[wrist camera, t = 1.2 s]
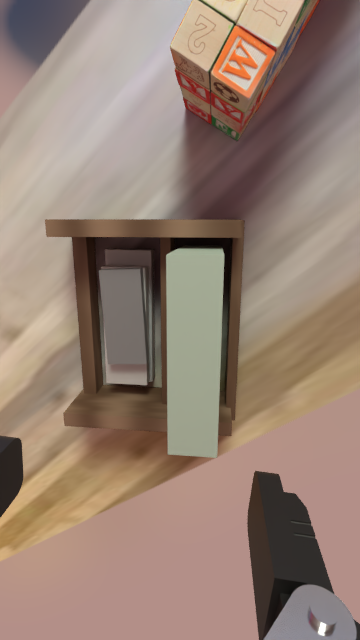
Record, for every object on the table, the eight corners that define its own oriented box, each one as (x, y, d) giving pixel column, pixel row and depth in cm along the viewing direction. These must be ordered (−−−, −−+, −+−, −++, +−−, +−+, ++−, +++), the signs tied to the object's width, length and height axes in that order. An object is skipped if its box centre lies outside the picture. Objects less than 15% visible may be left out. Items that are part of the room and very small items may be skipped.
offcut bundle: (154, 249, 38) (145, 252, 33) (155, 374, 42) (147, 393, 37) (110, 248, 38) (95, 251, 34) (115, 372, 42) (102, 391, 37)
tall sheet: (221, 245, 37) (224, 255, 23) (216, 382, 41) (217, 457, 27) (184, 245, 37) (166, 254, 24) (183, 380, 41) (167, 454, 28)
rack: (241, 221, 36) (247, 219, 29) (232, 402, 41) (236, 436, 35) (75, 221, 38) (44, 219, 31) (88, 395, 43) (64, 425, 36)
